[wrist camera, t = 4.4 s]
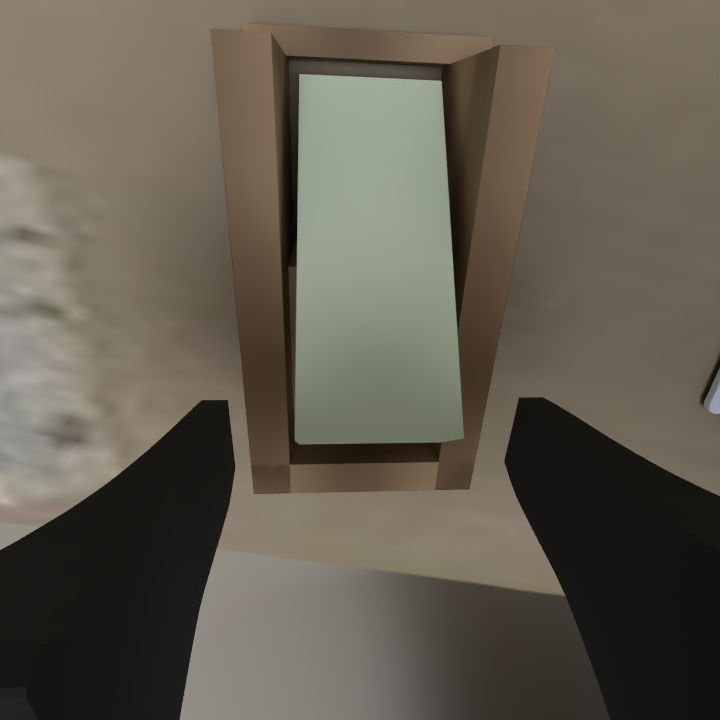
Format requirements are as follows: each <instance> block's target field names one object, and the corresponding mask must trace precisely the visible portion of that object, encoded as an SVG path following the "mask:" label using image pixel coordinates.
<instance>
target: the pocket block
mask: <svg viewBox="0 0 720 720" xmlns="http://www.w3.org/2000/svg"><path fill="white" fill-rule="evenodd" d="M211 38H212V48H213V59H214V70H215V81H216V91H217V102H218V113H219V124H220V135H221V145H222V156H223V167H224V178H225V188H226V199H227V210H228V221H229V232H230V242H231V253H232V264H233V275H234V286H235V296H236V307H237V318H238V329H239V339H240V350H241V361H242V372H243V383H244V393H245V404H246V415H247V426H248V436H249V447H250V458H251V469H252V480H253V490H254V494H275V493H320V492H365V491H410V490H455V489H470V484H471V479H472V474H473V469H474V463H475V458H476V453H477V448H478V443H479V438H480V433H481V427H482V422H483V417H484V412H485V407H486V402H487V396H488V391H489V386H490V381H491V376H492V371H493V366H494V360H495V355H496V350H497V345H498V340H499V335H500V330H501V324H502V319H503V314H504V309H505V304H506V299H507V294H508V288H509V283H510V278H511V273H512V268H513V263H514V258H515V252H516V247H517V242H518V237H519V232H520V227H521V222H522V216H523V211H524V206H525V201H526V196H527V191H528V186H529V180H530V175H531V170H532V165H533V160H534V155H535V150H536V144H537V139H538V134H539V129H540V124H541V119H542V113H543V108H544V103H545V98H546V93H547V88H548V83H549V77H550V72H551V67H552V62H553V57H554V52H555V48H550V47H531V46H513V45H499V46H496V47H494V48H493V43H494V37H478V36H460V35H442V34H424V33H407V32H389V31H371V30H353V29H335V28H317V27H299V26H281V25H264V24H246V23H242V31H239V30H221V29H211ZM288 59H299V60H318V61H338V62H358V63H378V64H398V65H418V66H438V67H443V70H442V80H441V81H442V96H443V112H444V128H445V144H446V160H447V175H448V191H449V207H450V223H451V239H452V255H453V271H454V287H455V303H456V319H457V335H458V351H459V367H460V383H461V398H462V414H463V430H464V439H458V440H451V441H445V442H431V443H361V444H299V443H297V442H296V441H295V374H296V296H297V243H294V231H293V197H292V163H291V129H290V95H289V61H288Z"/></svg>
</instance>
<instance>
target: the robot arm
mask: <svg viewBox="0 0 720 720" xmlns="http://www.w3.org/2000/svg"><path fill="white" fill-rule="evenodd" d="M704 407H705V408H706V409H707V410H708V411H710V412H711V413H713V414H720V368H719V370H718V373H717V375H716V377H715V379H714V381H713V384H712V386H711V388H710V390H709V392H708V395H707V397H706V399H705V402H704ZM504 462H505V465H506V468H507V471H508V474H509V477H510V481H511V483H512V486H513V489H514V492H515V494H516V497H517V499H518V501H519V503H520V505H521V507H522V509H523V511H524V513H525V515H526V517H527V519H528V521H529V523H530V525H531V527H532V529H533V531H534V533H535V535H536V537H537V539H538V541H539V543H540V545H541V547H542V549H543V551H544V553H545V554H546V556H547V558H548V560H549V562H550V564H551V566H552V568H553V570H554V572H555V574H556V576H557V578H558V580H559V582H560V585H561V587H562V589H563V591H564V593H565V595H566V598H567V601H568V603H569V606H570V608H571V611H572V613H573V616H574V618H575V621H576V623H577V626H578V629H579V631H580V634H581V636H582V639H583V642H584V645H585V647H586V650H587V653H588V656H589V659H590V661H591V664H592V667H593V670H594V672H595V675H596V678H597V681H598V684H599V687H600V690H601V693H602V696H603V699H604V702H605V705H606V708H607V711H608V714H609V717H610V720H720V496H718V495H716V494H713V493H711V492H709V491H707V490H705V489H703V488H701V487H699V486H697V485H695V484H693V483H690V482H688V481H686V480H684V479H682V478H680V477H678V476H676V475H674V474H672V473H670V472H668V471H667V470H665V469H663V468H661V467H659V466H657V465H656V464H654V463H652V462H650V461H648V460H647V459H645V458H643V457H641V456H639V455H638V454H636V453H634V452H632V451H631V450H629V449H627V448H626V447H624V446H622V445H621V444H619V443H617V442H616V441H614V440H612V439H611V438H609V437H607V436H606V435H604V434H603V433H601V432H599V431H598V430H596V429H595V428H593V427H591V426H590V425H588V424H587V423H585V422H583V421H582V420H580V419H579V418H577V417H576V416H574V415H572V414H571V413H569V412H567V411H566V410H564V409H563V408H561V407H559V406H558V405H556V404H554V403H552V402H551V401H549V400H547V399H545V398H543V397H540V398H519V401H518V405H517V409H516V414H515V418H514V422H513V426H512V431H511V435H510V439H509V444H508V448H507V452H506V457H505V461H504ZM234 472H235V460H234V452H233V443H232V434H231V425H230V416H229V408H228V400H202V401H201V402H199V403H198V404H197V405H196V406H195V407H194V408H193V409H192V410H191V411H190V412H189V413H188V414H187V415H185V416H184V417H183V418H182V419H181V420H180V421H179V422H178V423H177V424H176V425H175V426H174V427H173V428H172V429H171V430H170V431H169V432H168V433H167V434H165V435H164V436H163V437H162V438H161V439H160V440H159V441H158V442H157V443H156V444H154V445H153V446H152V447H151V448H150V449H149V450H148V451H147V452H145V453H144V454H143V455H142V456H141V457H139V458H138V459H137V460H136V461H135V462H133V463H132V464H131V465H130V466H128V467H127V468H126V469H125V470H124V471H122V472H121V473H120V474H119V475H118V476H116V477H115V478H114V479H112V480H111V481H110V482H108V483H107V484H106V485H104V486H103V487H102V488H100V489H99V490H97V491H96V492H95V493H93V494H92V495H90V496H89V497H87V498H86V499H84V500H83V501H81V502H80V503H79V504H77V505H76V506H74V507H73V508H71V509H69V510H68V511H66V512H65V513H63V514H62V515H60V516H58V517H57V518H55V519H53V520H51V521H50V522H48V523H46V524H45V525H43V526H41V527H40V528H38V529H36V530H35V531H33V532H31V533H30V534H28V535H26V536H25V537H23V538H21V539H20V540H18V541H16V542H14V543H13V544H11V545H9V546H7V547H5V548H3V549H2V550H0V720H180V713H181V707H182V702H183V696H184V690H185V684H186V679H187V673H188V667H189V661H190V656H191V651H192V645H193V640H194V635H195V629H196V624H197V619H198V614H199V609H200V605H201V601H202V597H203V593H204V590H205V586H206V583H207V579H208V576H209V573H210V569H211V566H212V562H213V559H214V556H215V552H216V549H217V546H218V542H219V539H220V535H221V532H222V528H223V525H224V521H225V518H226V515H227V511H228V507H229V504H230V498H231V492H232V485H233V479H234Z"/></svg>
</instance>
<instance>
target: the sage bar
mask: <svg viewBox="0 0 720 720" xmlns="http://www.w3.org/2000/svg"><path fill="white" fill-rule="evenodd" d="M458 439H464V430H463V414H462V398H461V383H460V367H459V351H458V335H457V319H456V303H455V287H454V271H453V255H452V239H451V223H450V207H449V191H448V175H447V160H446V144H445V128H444V112H443V96H442V81H435V80H414V79H393V78H372V77H351V76H330V75H309V74H299V138H298V217H297V296H296V374H295V441H296V442H297V443H299V444H361V443H431V442H445V441H451V440H458Z"/></svg>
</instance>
